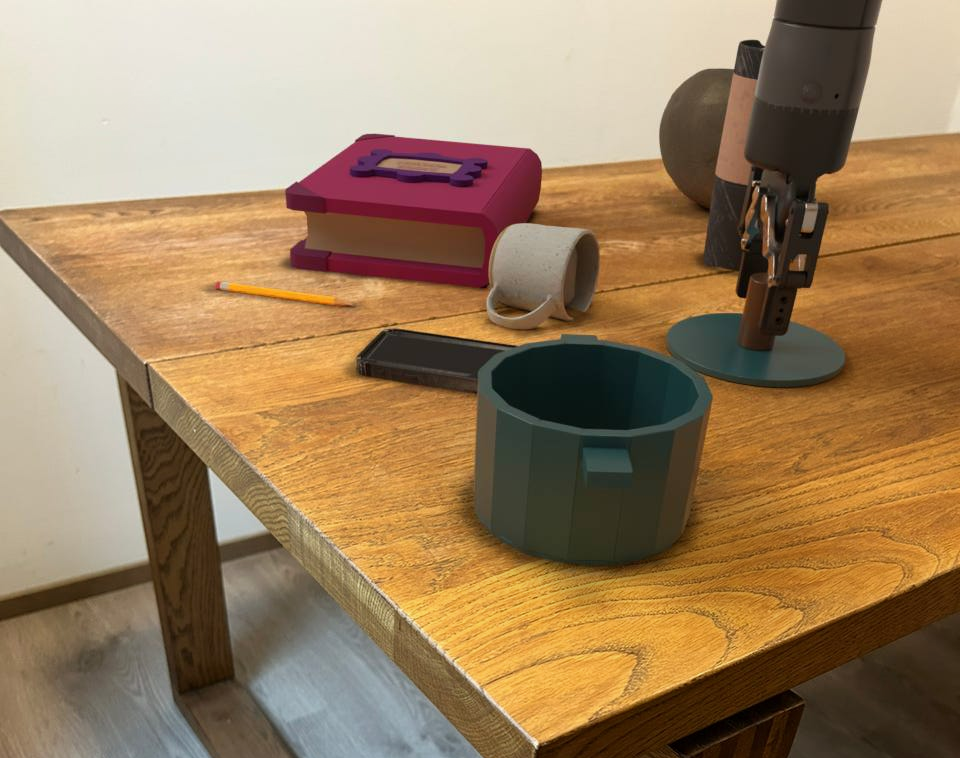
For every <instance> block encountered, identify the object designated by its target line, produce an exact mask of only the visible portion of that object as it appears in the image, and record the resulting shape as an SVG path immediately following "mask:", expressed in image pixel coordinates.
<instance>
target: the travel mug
mask: <svg viewBox="0 0 960 758" xmlns="http://www.w3.org/2000/svg"><path fill="white" fill-rule="evenodd" d="M764 48H765V45H764V44H762V42H761V41H760V40H759V39H745V40H741V41H739V43H738V46H737V51H736V57H735V60H734V61H735V62H734V67H733V69H734V73H733V78H732V84H731V89H730V95H729V100H728V106H727V111H726V117H725V122H724V128H723V133H722V139H721V144H720V150H719V155H718V161H717V166H716V172H715V174H716V175H715V178H714V185H713V192H712V199H711V206H710V209H709V214H708V219H707V220H708V221H707V229H706V234H705V243H704V251H703V259H702V261H703V264H704V265H706V266H707V267H709V268H720V269H725V270H730V271H736V272H737V271H738V272H739V270H740V265H741V260H742V255H743V251H746V249H742V247H741V239H742V237H743V235H739V233H738V225H739V223H740V218H741V214H742V209H743V204H744V200H745V195H746V190H747V186H748V181H749V176H750V172H751V165H752V164H750V163H749V162H748V161H747V160H746V159H745V157H744V148H745V142H746V137H747V132H748V127H749V122H750V116H751V111H752V106H753V101H754V96H755V91H756V86H757V81H758V75H759V70H760V65H761V60H762V56H763V51H764Z"/></svg>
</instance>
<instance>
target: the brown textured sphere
mask: <svg viewBox="0 0 960 758" xmlns="http://www.w3.org/2000/svg"><path fill="white" fill-rule="evenodd" d="M733 73H734V68H721V67H719V68H705V69H702V70H699V71H697V72H696V73H694V74H693V75H691V76H690V77H688V78H687V79H685V80H684V81H683V82H682V83H681V84H680V85H679V86H678V87H677V88H676V89H675V90H674V91H673V92H672V94H671V96H670V98H669V100H668V101H667V103H666V105H665V108H664V110H663V112H662V116H661V120H660V123H659V128H658V129H659V130H658V134H659V135H658V142H659V143H658V144H659V149H660V151H659V152H660V156H661V160H662V164H663V166H664V170H665V171H666V173H667V175H668V176H669V177H670V179H671V180H672V182H673V184H674V185H675V187H676V188H677V189H678V190H679V192H681V193H682V194H683V195H684V196H685V197H687V198H688V199H690V200H691V201H692V202H693V203H695V204H697V205H699V206H701V207H703V208H705V209H708V210H710V206H711V199H712V192H713V185H714V178H715V175H716V174H715V172H716V166H717V161H718V155H719V150H720V144H721V139H722V133H723V128H724V122H725V117H726V111H727V106H728V100H729V95H730V89H731V84H732V78H733Z"/></svg>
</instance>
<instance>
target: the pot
mask: <svg viewBox="0 0 960 758" xmlns="http://www.w3.org/2000/svg"><path fill="white" fill-rule="evenodd" d="M516 346H517V347H514V348H512V349H509V350H506V351H503V352H501V353H498V354H496V355H494V356H493V357H492V358H491V359H490V360H489V361H488V362H487V363H486V364H485V365H484V366H483V367H482V368H481V369H480V370H479V371H478V389H477V393H476V414H475V415H476V418H475V419H476V420H475V438H474V439H475V440H474V441H475V442H474V443H475V444H474V464H473V465H474V467H473V471H474V472H473V502H472V503H473V510H474V513H475V515H476V518H477V519H478V522H479V523H480V524H481V525H482V526H483V528H484V529H485V530H486V531H487V532H488V533H489V534H490V535H492V536H493V537H494V538H496V539H497V540H499V541H500V542H501V543H503V544H505V545H507V546H508V547H510V548H513V549H515V550H517V551H518V552H521V553H524V554H526V555H529V556H532V557H536V558H538V559H539V558H540V559H543V560H546V561H552V562H556V563H559V564H561V563H562V564H568V565H575V566H577V565H578V566H614V565H615V566H616V565H622V564H629V563H634V562H637V561H642V560H645V559H648V558H651V557H654V556H657V555H658V554H661V553H662V552H664V551H667V550H668V549H669V548H671V546H673V545H675V544H676V542H677V541H679V539H680V538H681V537H682V535H683V534H684V532H685V530H686V527H687V523H688V520H689V518H690V517H691V512H692V507H693V501H694V497H695V492H696V487H697V481H698V476H699V472H700V466H701V461H702V457H703V456H702V455H703V451H704V445H705V441H706V440H705V439H706V436H707V430H708V426H709V420H710V415H711V409H712V405H713V399H714V396H713V393H712V392H711V389H710V387H709V385H708V383H707V380H706V378H705V377H704V376H703V375H701V373H698V371H696V370H694V369H692V368H690V367H688V366H687V365H686V364H684V363H683V362H681V361H680V360H677V359H676V358H674V357H673V356H672V357H671V356H668V355H666V354H663V353H660V352H658V351H655V350H652V349H650V348H647V347H643V346H638V345H632V344H628V343H627V344H626V343H621V342H616V341H610V340H604V339H598V335H596V334H576V333H575V334H574V333H573V334H572V333H561V334H560V338H557V339H550V340H549V339H548V340H542V341H533V342H527V343H526V342H525V343H523V344H520V345H516Z"/></svg>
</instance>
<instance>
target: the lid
mask: <svg viewBox="0 0 960 758" xmlns="http://www.w3.org/2000/svg"><path fill="white" fill-rule="evenodd" d="M767 279H768V272H767V273H755V274H753V275H751V277H750V281H749V286H748V291H747V296H746V298H745V301H744V306H743V311H742V313H741V312H740V313H739V312H716V313H706V314H699V315H694V316H690V317H688V318H684V319H682V320H680V321H677V322H676V323H673V325H672V326H671V327H669V329H668V331H667V333H666V338H665V345H666V349H667V351H668V352H669V354H670V355H671V356H672V358H674V359H677V360H680V361H681V362H683V363H684V364H686V365H687V366H688V367H690V368H691V369H693V370H694V371H695V372H697V373H698V372H699V373H700V374H703V375H705V376H708V377H712V378H716V379H719V380H723V381H726V382H731V383H735V384H740V385H741V384H742V385H746V386H755V387H763V388H764V387H765V388H798V387H807V386H813V385H819V384H822V383H824V382H827V381H829V380H832V379H833V378H835V377H836V376H838V375H839V374H840V373H841V372H842V371H843V369H844V368H845V367H844V366H845V363H846V353H845V351H844V349H843V347H842V346H841V345H840V344H839V343H838V342H837V341H836V340H835V339H833V338H832V337H831V336H829V335H827V334H825V333H823V332H821V331H819V330H817V329H814V328H813V327H810V326H807V325H804V324H803V323H799V322H795V321H791V320H790V323H789V327H788V331H787V333H786V334H785V335H782V336H772V335H763V334H761V332H760V331H759V329H758V324H759V320H760V315H761V311H762V306H763V302H764V297H765V293H766V288H767V285H768V281H767Z"/></svg>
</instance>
